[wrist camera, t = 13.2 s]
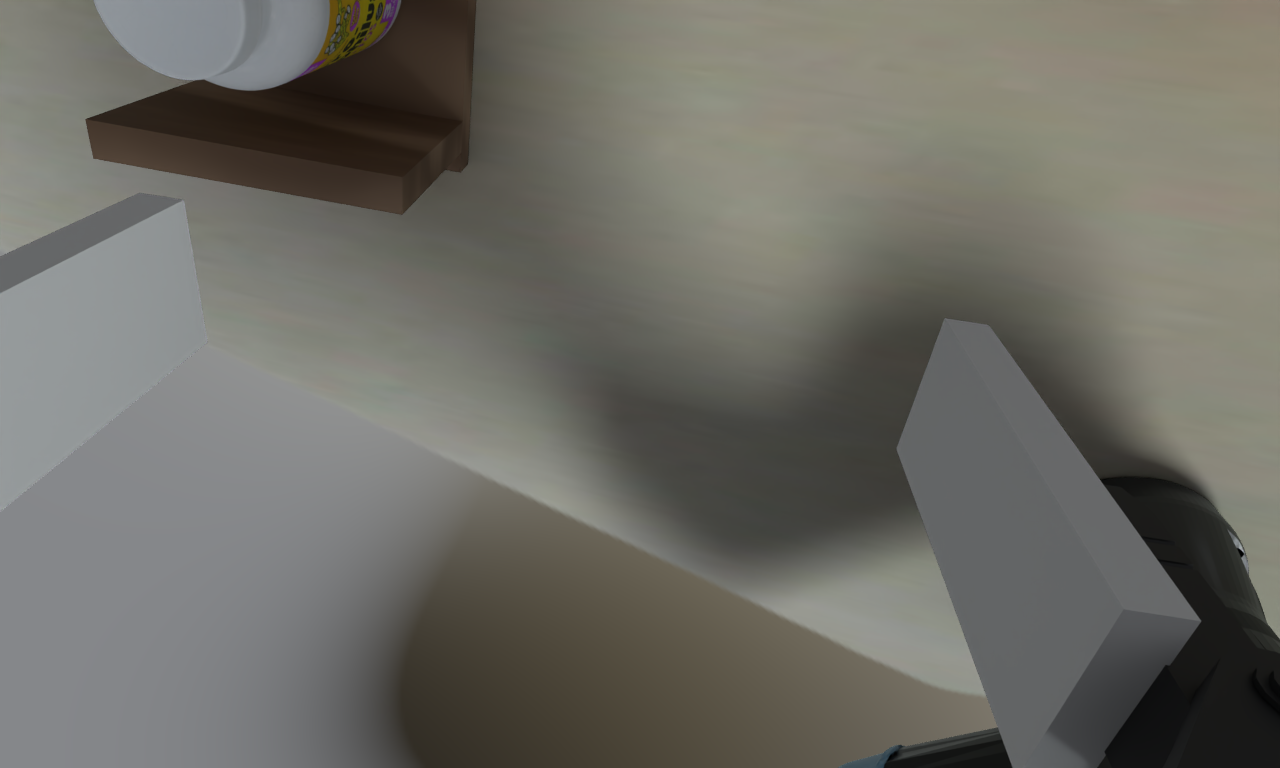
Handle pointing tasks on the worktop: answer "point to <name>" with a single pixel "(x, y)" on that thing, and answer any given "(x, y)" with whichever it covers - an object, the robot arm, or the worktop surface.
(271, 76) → the supplement bottle
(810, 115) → the worktop surface
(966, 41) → the worktop surface
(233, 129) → the holder
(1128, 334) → the worktop surface
